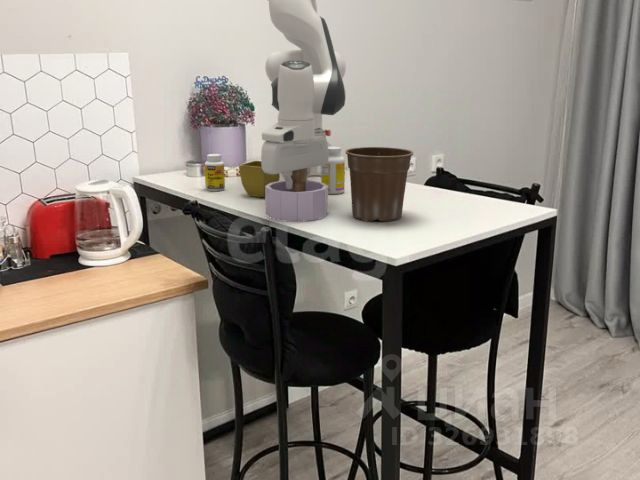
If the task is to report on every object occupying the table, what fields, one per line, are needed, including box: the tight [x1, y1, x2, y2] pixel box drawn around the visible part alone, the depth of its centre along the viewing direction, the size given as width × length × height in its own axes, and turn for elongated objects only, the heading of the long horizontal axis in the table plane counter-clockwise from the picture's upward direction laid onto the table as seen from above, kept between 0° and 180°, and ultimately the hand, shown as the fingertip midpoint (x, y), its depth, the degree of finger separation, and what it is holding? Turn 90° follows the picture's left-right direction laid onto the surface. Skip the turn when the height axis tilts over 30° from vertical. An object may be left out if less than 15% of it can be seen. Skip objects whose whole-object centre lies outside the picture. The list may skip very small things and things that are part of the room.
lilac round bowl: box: [264, 179, 329, 222], centre depth 160 cm, size 15×15×7 cm
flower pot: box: [238, 160, 281, 198], centre depth 180 cm, size 9×9×9 cm
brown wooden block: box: [288, 168, 306, 192], centre depth 159 cm, size 3×3×14 cm
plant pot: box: [345, 146, 414, 222], centre depth 157 cm, size 16×16×16 cm
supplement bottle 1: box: [204, 153, 226, 192], centre depth 186 cm, size 6×6×10 cm
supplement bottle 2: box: [320, 146, 346, 195], centre depth 183 cm, size 7×7×13 cm
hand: (296, 187), depth 159 cm, fingers closed on brown wooden block, 3 cm apart
